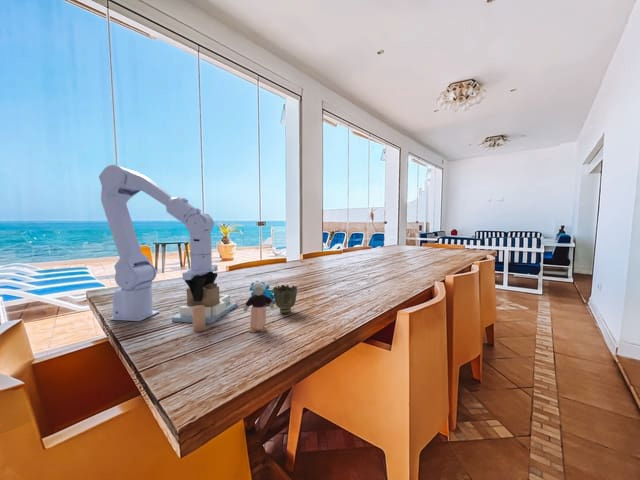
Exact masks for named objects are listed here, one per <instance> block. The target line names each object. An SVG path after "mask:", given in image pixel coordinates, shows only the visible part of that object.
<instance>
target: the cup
mask: <svg viewBox="0 0 640 480" xmlns="http://www.w3.org/2000/svg"><path fill="white" fill-rule="evenodd" d="M272 289H273V292H274V293H273V295H274V303H275V305H276V307H277V308H278V309H279V313H280V314H282V315H283V314H284V315H288V314H290V313H291V312H292V308H293V307H294V306H295V305H296V300H297V293H298V287H297V286H295V285H292V286H290V285H288V284H287V285H284V284H281V286H279V285H277V286H274V287H273V288H272Z"/></svg>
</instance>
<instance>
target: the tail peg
mask: <svg viewBox="0 0 640 480" xmlns="http://www.w3.org/2000/svg"><path fill="white" fill-rule="evenodd" d="M192 314H193V323H192V332H202V331H204V330H206V327H207V326H206V323H205V305H196V306H193V307H192Z"/></svg>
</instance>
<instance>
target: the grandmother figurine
mask: <svg viewBox="0 0 640 480" xmlns="http://www.w3.org/2000/svg"><path fill="white" fill-rule="evenodd" d="M261 282H262V281H261ZM261 282H260V281H259V282H256V281H254V284H253V287H252V289H253V291H252V292H254V294H255V295H253V296H252V295H250V297H249V298H248V300H247V301H246V302H245V304H244V307H243V312H244V313H245V312H247V311H248V309H249V307H250V306H251V310H250V320H249V321H250V322H249V323H250V325H249V326H250V328H249V329H248V333H249V334H251V333H253V334H254V333H256V332H257V330H258V332H266V331H267V327H266V319H267V318H266V317H267V315H266V311H267V310H266V305H267V304H269V305H268V306H269V308H270V309H274V308H275V305H274V302H273V303H272V300H271V299H270V298H269V297H267V296H265V295H262V294H263V292H264V290H265V287H266V286H265V284H262V283H261Z"/></svg>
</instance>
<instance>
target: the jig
mask: <svg viewBox="0 0 640 480" xmlns="http://www.w3.org/2000/svg"><path fill="white" fill-rule="evenodd" d="M219 299H220V303H219V304H217V305H215V306H213V307H212V310H211V307H205V324H213V323H214V322H216V321H217V320H219V319H221V318H222V317H223V316H225V315H226V314H227V313H230V312H231V311H232V310H233V308H234V309H235V308H237V307H238V302H233V301H231V295H230V294H219ZM236 306H237V307H236ZM192 307H193V306H187V305H181V306H180V307H179V313H178V314H175V315H174V316H172V317H171V322H174V323H175V322H177V323H192V324H193V314H192ZM230 310H231V311H230Z"/></svg>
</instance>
